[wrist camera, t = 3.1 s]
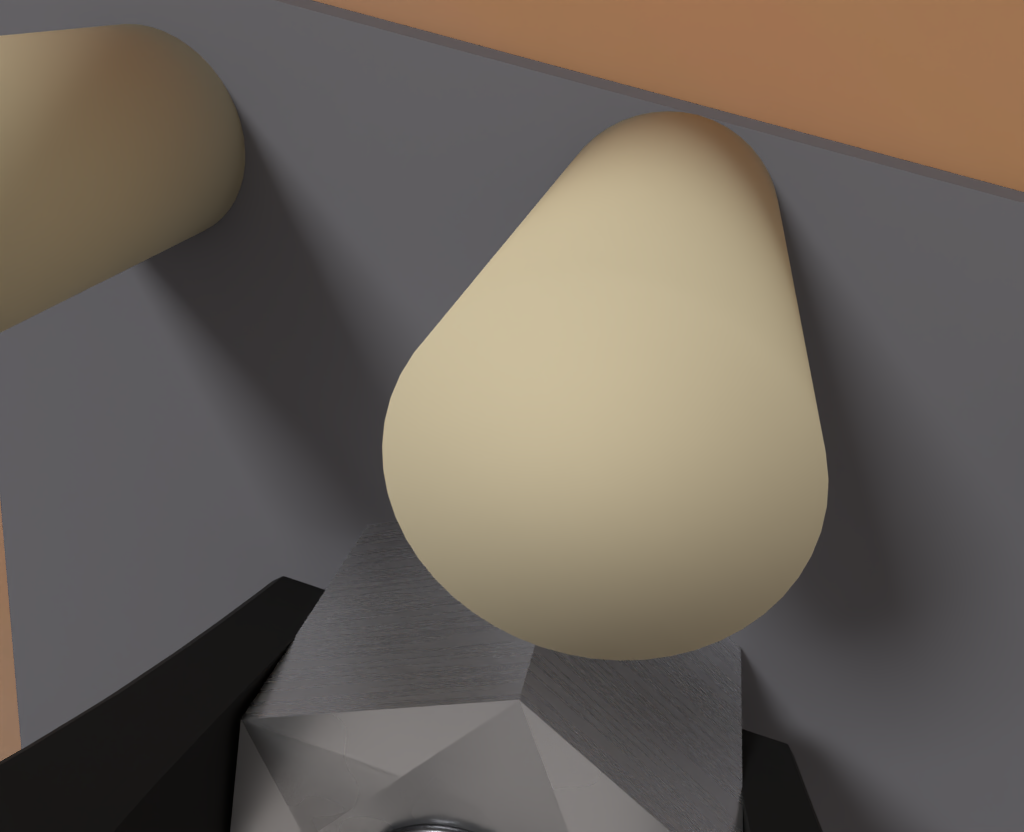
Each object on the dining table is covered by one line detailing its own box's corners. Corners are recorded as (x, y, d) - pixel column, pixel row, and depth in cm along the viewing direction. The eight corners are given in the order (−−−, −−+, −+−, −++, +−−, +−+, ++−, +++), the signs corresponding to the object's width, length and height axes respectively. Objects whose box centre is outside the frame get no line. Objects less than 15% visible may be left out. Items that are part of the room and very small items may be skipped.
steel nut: (329, 745, 12) (213, 970, 9) (383, 433, 10) (247, 615, 7) (641, 854, 12) (614, 1121, 9) (782, 559, 9) (803, 805, 6)
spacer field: (51, 781, 15) (-239, 1128, 10) (-2, -84, 9) (-797, -139, 4) (871, 1081, 14) (939, 1619, 9) (1523, 326, 7) (2749, 888, 3)
